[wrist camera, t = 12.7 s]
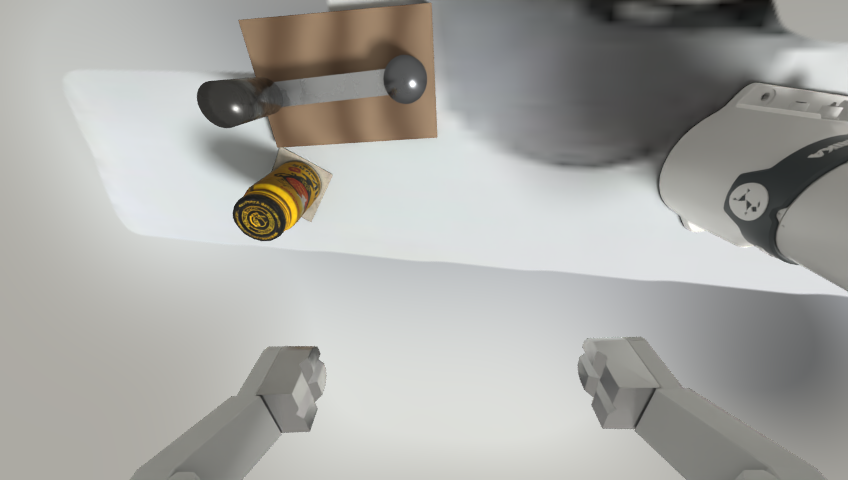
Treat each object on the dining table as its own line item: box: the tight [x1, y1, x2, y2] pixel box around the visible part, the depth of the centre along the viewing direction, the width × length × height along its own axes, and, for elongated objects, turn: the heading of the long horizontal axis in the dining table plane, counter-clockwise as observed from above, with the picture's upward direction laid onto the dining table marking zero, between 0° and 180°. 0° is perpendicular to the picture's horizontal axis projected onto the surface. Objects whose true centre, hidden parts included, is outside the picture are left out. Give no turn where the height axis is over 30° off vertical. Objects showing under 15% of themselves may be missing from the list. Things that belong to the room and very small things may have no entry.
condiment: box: [233, 147, 332, 241], centre depth 37 cm, size 7×8×12 cm
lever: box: [197, 55, 427, 128], centre depth 29 cm, size 19×4×10 cm, turn 96°
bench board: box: [239, 3, 437, 148], centre depth 35 cm, size 20×13×2 cm, turn 94°
